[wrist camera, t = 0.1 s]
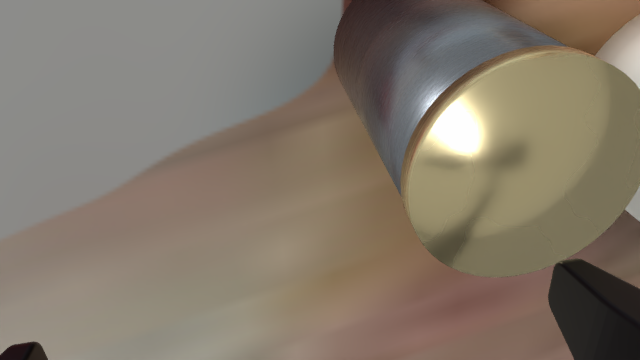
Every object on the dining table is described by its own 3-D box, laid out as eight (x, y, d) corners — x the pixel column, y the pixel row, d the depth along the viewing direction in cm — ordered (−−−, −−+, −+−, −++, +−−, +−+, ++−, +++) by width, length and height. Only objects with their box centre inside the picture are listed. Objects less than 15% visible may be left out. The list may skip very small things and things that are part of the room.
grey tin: (469, 107, 25) (621, 259, 15) (334, 123, 24) (405, 292, 15) (482, -39, 21) (684, 40, 12) (327, -24, 21) (411, 71, 11)
